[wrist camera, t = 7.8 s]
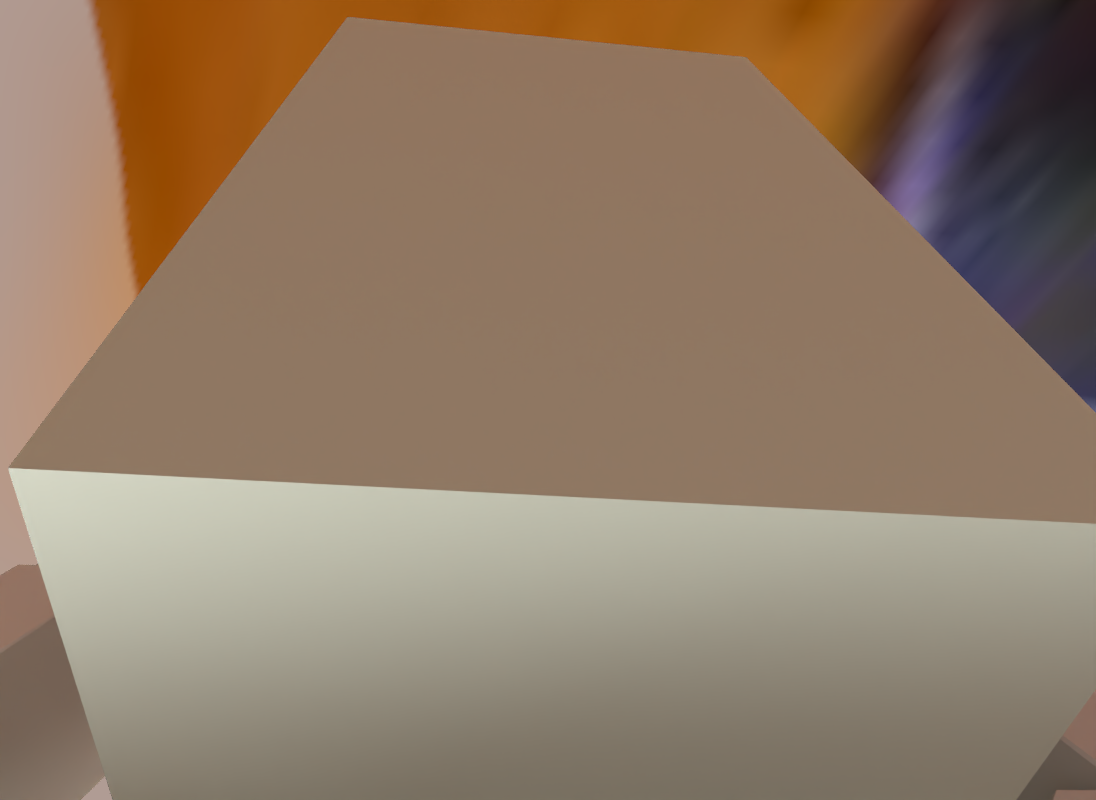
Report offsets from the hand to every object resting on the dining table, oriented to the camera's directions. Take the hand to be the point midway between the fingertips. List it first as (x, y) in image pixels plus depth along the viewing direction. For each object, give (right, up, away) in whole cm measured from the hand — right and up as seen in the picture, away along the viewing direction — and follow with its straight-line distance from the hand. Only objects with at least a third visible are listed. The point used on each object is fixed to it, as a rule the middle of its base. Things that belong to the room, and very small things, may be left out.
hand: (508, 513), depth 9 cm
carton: (0, +1, +2) cm, 3 cm away
